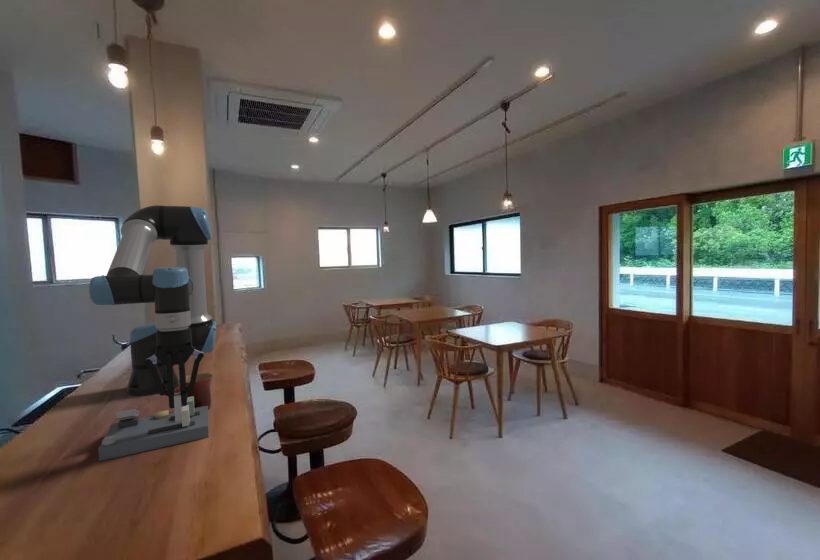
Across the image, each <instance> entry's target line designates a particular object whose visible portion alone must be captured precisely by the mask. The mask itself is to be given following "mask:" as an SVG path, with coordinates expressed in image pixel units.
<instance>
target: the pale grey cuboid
mask: <svg viewBox="0 0 820 560" xmlns="http://www.w3.org/2000/svg"><path fill="white" fill-rule="evenodd" d="M181 413H182V427H184V426H189V422H190V415H189V405H186V406H183V407H182V411H181Z"/></svg>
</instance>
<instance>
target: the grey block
mask: <svg viewBox="0 0 820 560" xmlns="http://www.w3.org/2000/svg"><path fill="white" fill-rule="evenodd" d="M187 405H189V415H190V416H193V415H194V411H195V409H194V396H192V397H188V398H187Z"/></svg>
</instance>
